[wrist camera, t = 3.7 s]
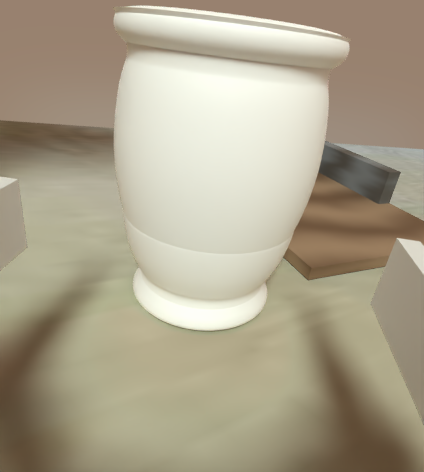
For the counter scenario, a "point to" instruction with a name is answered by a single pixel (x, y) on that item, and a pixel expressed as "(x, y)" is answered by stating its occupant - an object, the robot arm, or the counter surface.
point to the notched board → (349, 217)
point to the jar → (216, 154)
